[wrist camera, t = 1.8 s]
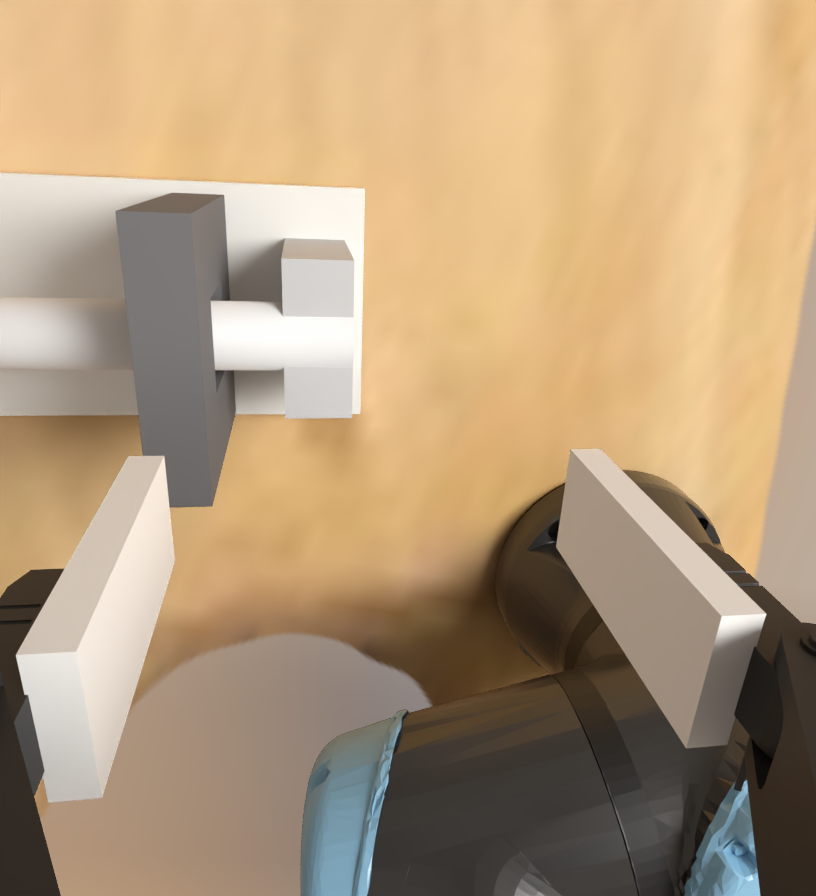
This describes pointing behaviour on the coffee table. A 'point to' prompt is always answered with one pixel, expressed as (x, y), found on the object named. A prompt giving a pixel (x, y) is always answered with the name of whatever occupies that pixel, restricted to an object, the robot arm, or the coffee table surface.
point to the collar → (178, 336)
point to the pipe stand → (233, 322)
